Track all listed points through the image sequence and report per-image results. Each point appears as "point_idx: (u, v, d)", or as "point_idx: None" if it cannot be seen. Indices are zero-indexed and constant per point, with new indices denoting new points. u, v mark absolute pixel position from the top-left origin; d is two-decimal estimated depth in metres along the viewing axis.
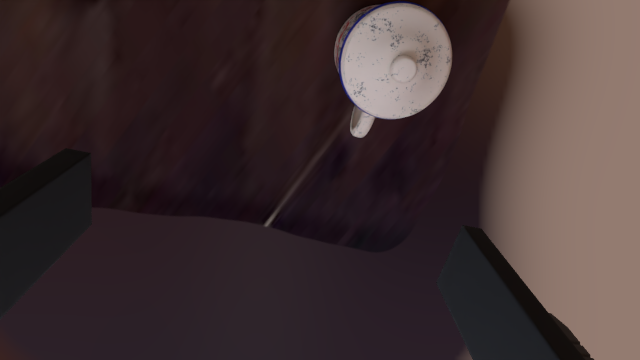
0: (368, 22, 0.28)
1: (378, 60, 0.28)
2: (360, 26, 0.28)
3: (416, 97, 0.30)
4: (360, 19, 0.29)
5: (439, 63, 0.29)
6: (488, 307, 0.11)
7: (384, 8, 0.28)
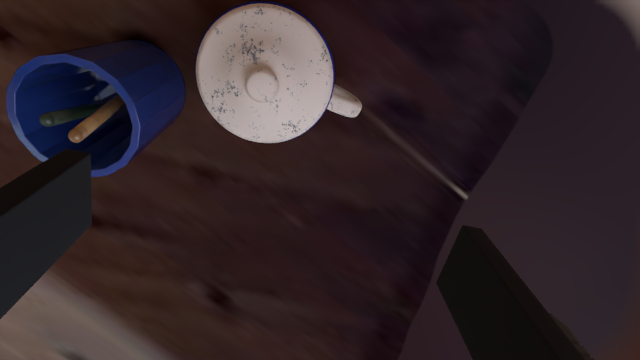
0: (216, 114, 0.25)
1: (254, 111, 0.24)
2: (221, 122, 0.25)
3: (304, 56, 0.23)
4: None
5: (262, 26, 0.23)
6: (488, 307, 0.11)
7: (201, 95, 0.25)
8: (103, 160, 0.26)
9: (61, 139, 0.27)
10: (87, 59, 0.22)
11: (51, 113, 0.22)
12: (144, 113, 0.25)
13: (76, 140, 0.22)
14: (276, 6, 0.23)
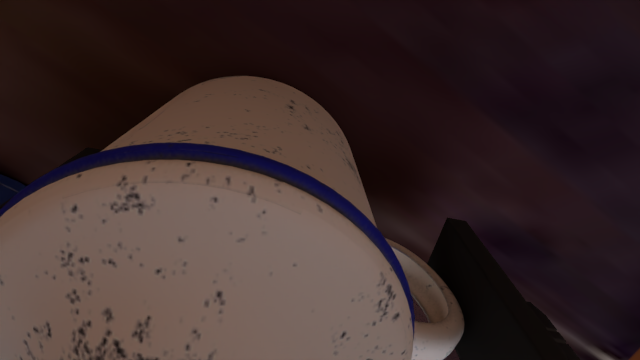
0: None
1: None
2: None
3: (318, 333, 0.06)
4: None
5: (146, 255, 0.06)
6: (469, 296, 0.12)
7: None
8: None
9: None
10: None
11: None
12: None
13: None
14: (197, 170, 0.06)
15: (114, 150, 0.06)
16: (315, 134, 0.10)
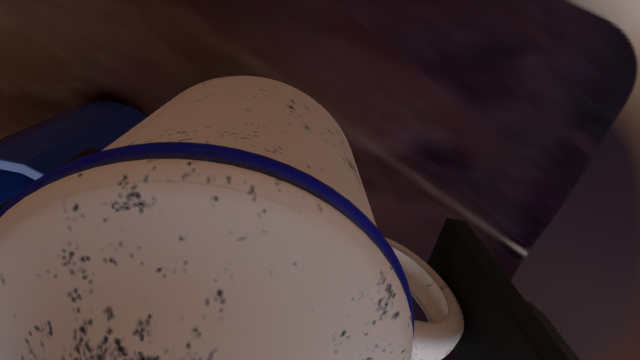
0: None
1: None
2: None
3: (318, 331, 0.06)
4: None
5: (146, 254, 0.06)
6: (469, 296, 0.12)
7: None
8: None
9: None
10: (17, 160, 0.16)
11: None
12: None
13: None
14: (198, 169, 0.06)
15: (115, 149, 0.06)
16: (315, 134, 0.10)
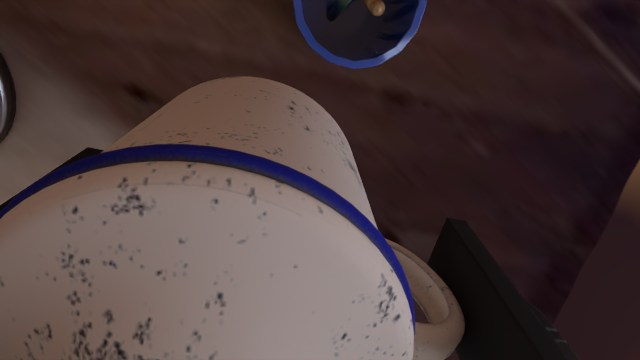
0: None
1: None
2: None
3: (318, 334, 0.06)
4: None
5: (146, 256, 0.06)
6: (469, 296, 0.12)
7: None
8: (360, 56, 0.25)
9: None
10: None
11: None
12: None
13: (381, 11, 0.21)
14: (198, 171, 0.06)
15: (115, 151, 0.06)
16: (315, 135, 0.10)
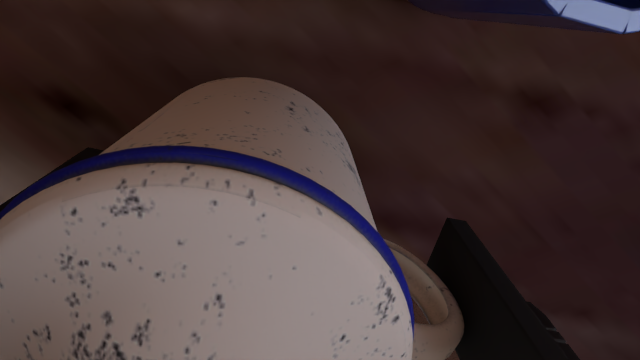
0: None
1: None
2: None
3: (317, 336, 0.06)
4: None
5: (145, 258, 0.06)
6: (469, 296, 0.12)
7: None
8: None
9: None
10: None
11: None
12: None
13: None
14: (197, 173, 0.06)
15: (113, 153, 0.06)
16: (315, 136, 0.10)
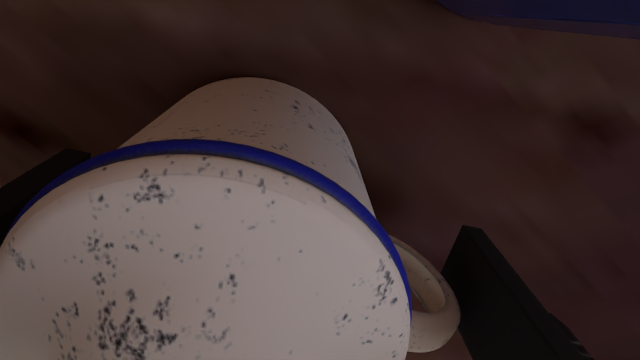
0: None
1: None
2: None
3: (322, 314, 0.07)
4: None
5: (165, 241, 0.06)
6: (488, 307, 0.11)
7: None
8: None
9: None
10: None
11: None
12: None
13: None
14: (212, 164, 0.06)
15: (135, 146, 0.07)
16: (318, 133, 0.11)
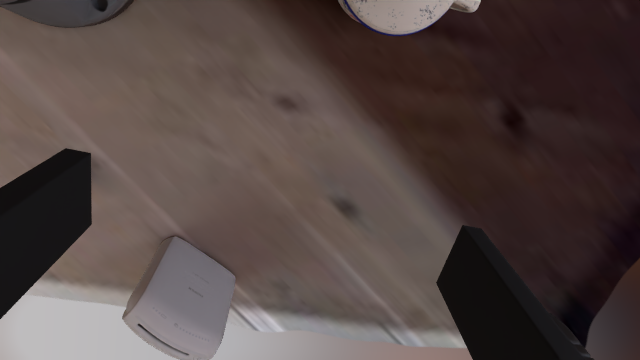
0: (357, 5, 0.27)
1: None
2: (361, 14, 0.27)
3: None
4: (353, 13, 0.27)
5: None
6: (488, 307, 0.11)
7: None
8: None
9: None
10: None
11: None
12: None
13: None
14: None
15: None
16: None
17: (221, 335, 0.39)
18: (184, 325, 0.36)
